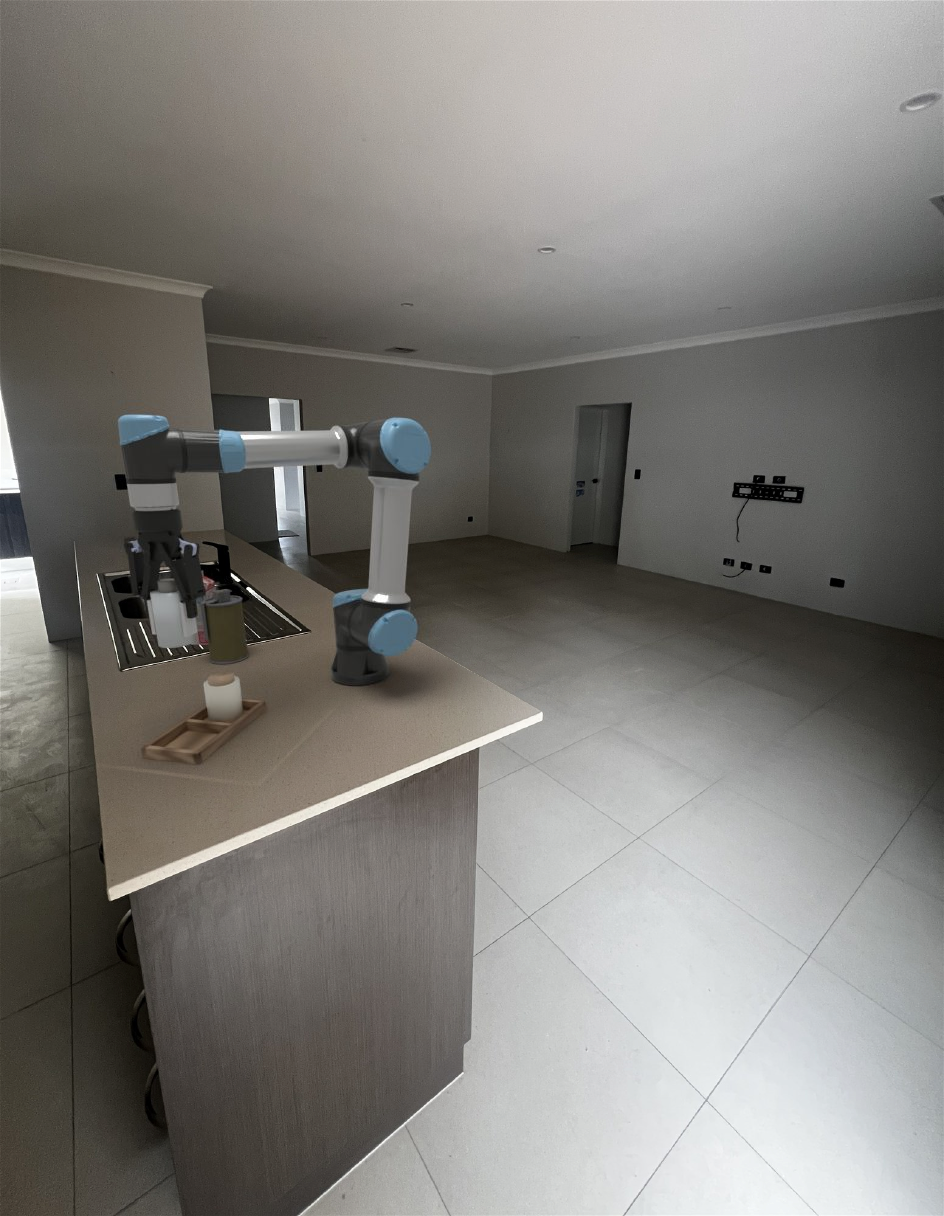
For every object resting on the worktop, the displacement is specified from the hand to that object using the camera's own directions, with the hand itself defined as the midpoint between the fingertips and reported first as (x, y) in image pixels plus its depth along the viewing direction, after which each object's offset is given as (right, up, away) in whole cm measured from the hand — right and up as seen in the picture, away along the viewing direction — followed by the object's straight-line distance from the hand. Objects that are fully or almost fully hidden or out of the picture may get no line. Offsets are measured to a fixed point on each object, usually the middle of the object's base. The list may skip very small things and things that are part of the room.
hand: (174, 633), depth 101 cm
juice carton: (-28, -6, +69) cm, 75 cm away
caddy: (+1, -22, +12) cm, 25 cm away
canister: (-15, -10, +55) cm, 58 cm away
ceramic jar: (+2, -20, +17) cm, 26 cm away
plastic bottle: (0, -2, +1) cm, 2 cm away
